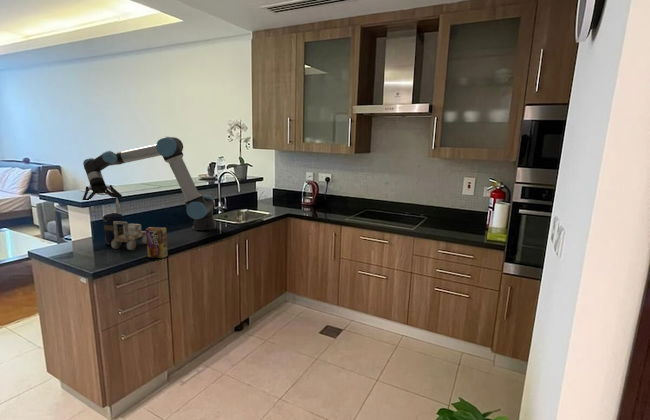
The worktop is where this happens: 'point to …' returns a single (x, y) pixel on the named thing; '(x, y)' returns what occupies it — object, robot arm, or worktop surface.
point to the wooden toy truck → (128, 235)
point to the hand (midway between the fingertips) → (106, 208)
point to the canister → (109, 226)
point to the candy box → (156, 242)
